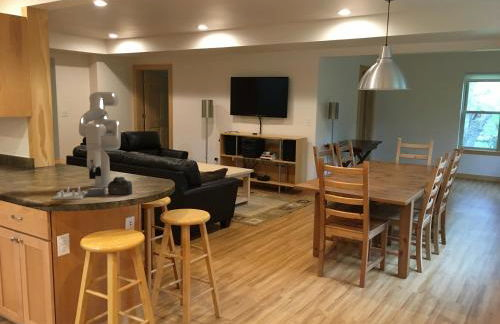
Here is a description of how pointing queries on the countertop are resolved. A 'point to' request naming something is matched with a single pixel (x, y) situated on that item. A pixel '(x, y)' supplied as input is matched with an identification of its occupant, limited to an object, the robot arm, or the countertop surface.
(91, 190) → the drive
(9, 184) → the countertop surface
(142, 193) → the countertop surface
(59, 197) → the grey pegged board
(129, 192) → the camera
